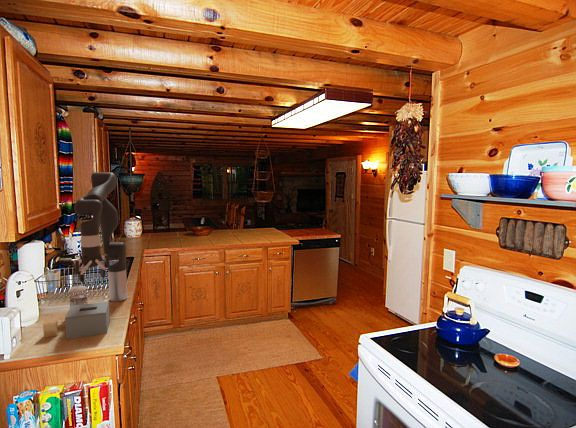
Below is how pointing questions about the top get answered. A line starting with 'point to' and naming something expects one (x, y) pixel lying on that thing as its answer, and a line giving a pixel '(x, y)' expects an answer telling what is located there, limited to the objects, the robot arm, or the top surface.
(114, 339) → the top surface
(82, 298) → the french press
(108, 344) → the top surface
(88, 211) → the robot arm
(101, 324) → the box
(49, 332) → the wooden block
